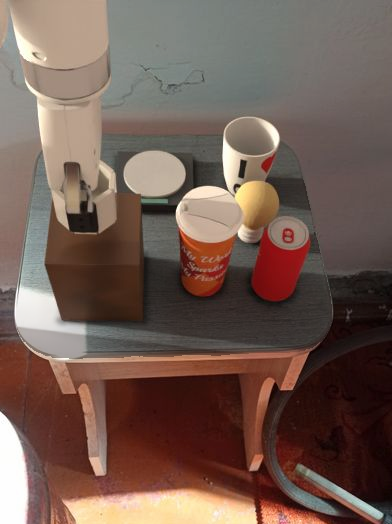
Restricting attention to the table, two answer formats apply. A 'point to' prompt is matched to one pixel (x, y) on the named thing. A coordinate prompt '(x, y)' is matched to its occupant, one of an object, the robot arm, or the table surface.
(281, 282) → the beverage can
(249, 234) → the light bulb
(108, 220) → the bowl
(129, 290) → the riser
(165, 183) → the scale
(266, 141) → the cup
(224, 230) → the coffee cup
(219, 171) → the table surface
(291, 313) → the table surface
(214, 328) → the table surface
